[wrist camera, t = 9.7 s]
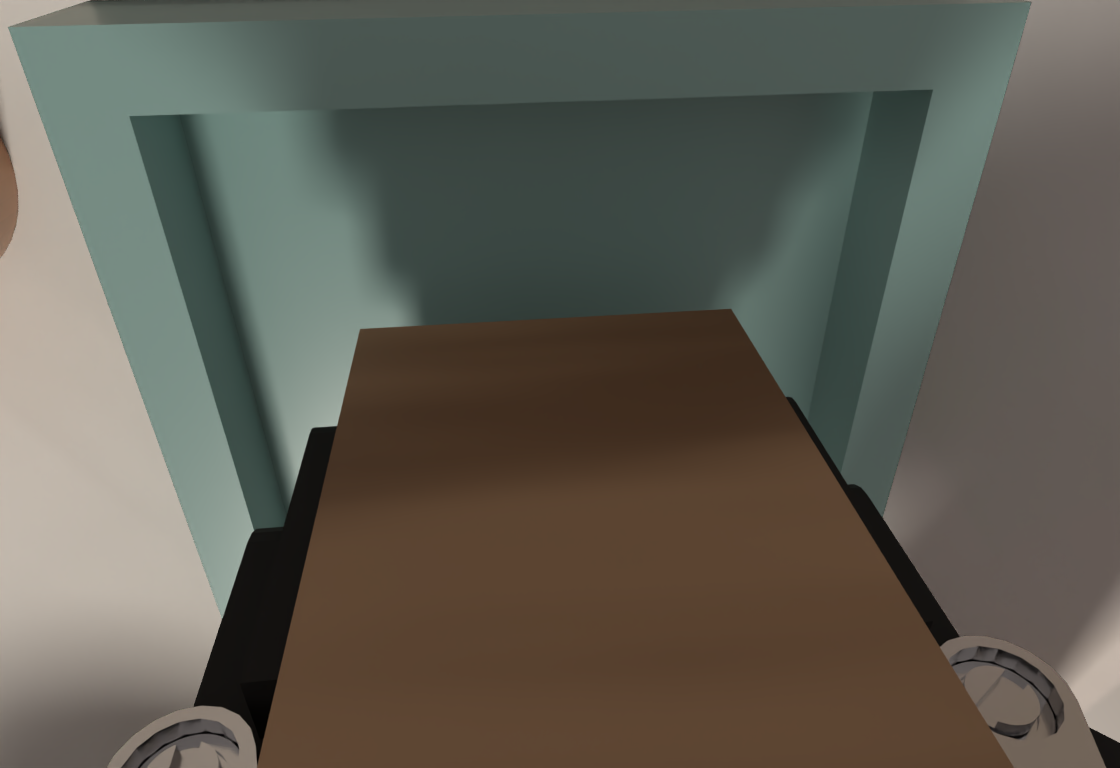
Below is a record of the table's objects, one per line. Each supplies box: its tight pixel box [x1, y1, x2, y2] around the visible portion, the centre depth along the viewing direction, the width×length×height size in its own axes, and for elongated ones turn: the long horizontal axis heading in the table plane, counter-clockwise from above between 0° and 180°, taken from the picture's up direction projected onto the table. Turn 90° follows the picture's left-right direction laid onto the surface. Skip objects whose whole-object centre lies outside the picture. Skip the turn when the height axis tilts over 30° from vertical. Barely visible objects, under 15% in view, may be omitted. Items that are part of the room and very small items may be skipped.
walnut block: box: [257, 309, 1014, 768], centre depth 9 cm, size 5×5×7 cm
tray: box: [8, 0, 1031, 618], centre depth 13 cm, size 12×12×2 cm
